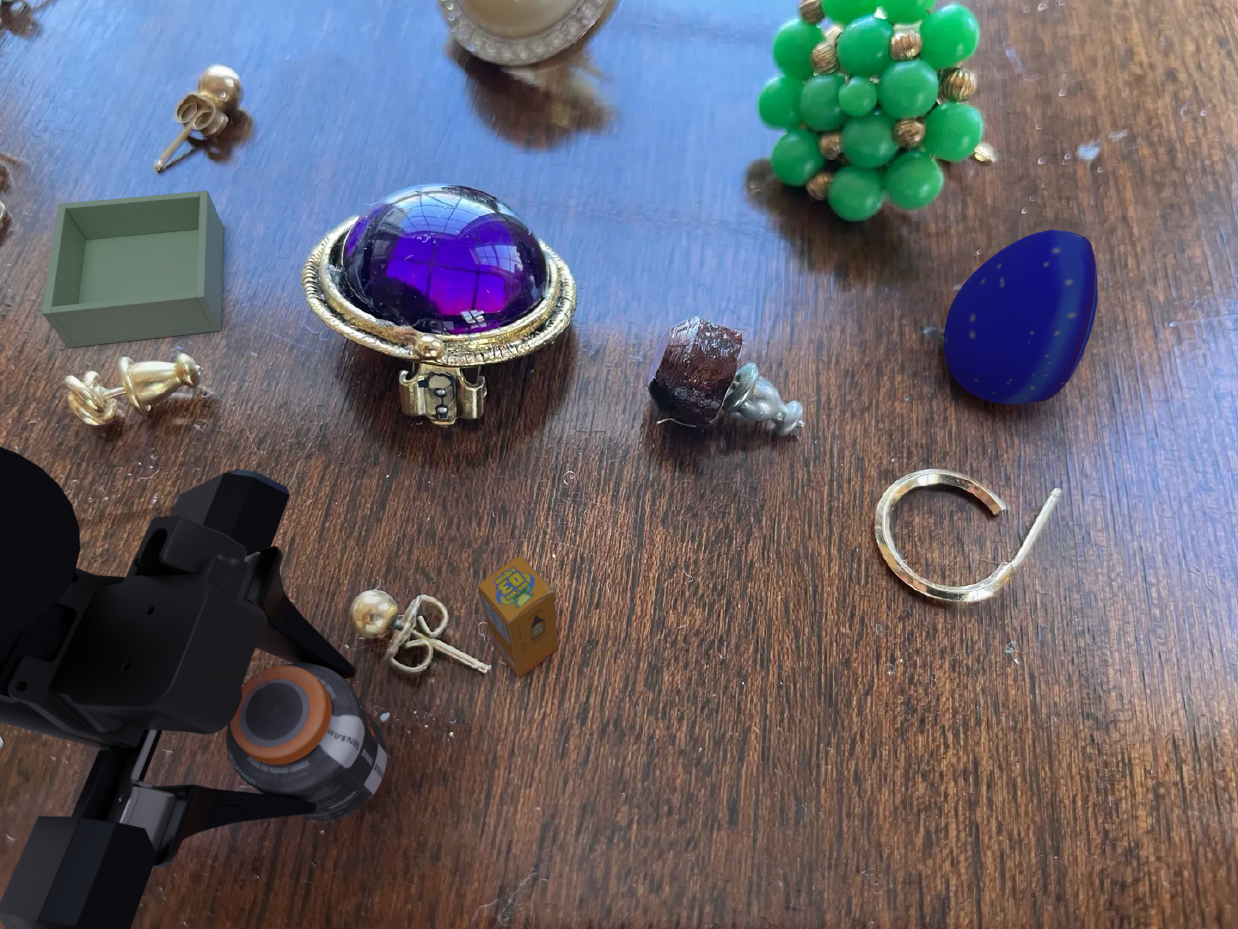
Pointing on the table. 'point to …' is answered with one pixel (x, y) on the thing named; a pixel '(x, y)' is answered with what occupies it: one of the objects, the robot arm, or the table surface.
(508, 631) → the supplement box
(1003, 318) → the ornament
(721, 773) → the table surface
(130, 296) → the bin
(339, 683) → the pill bottle
